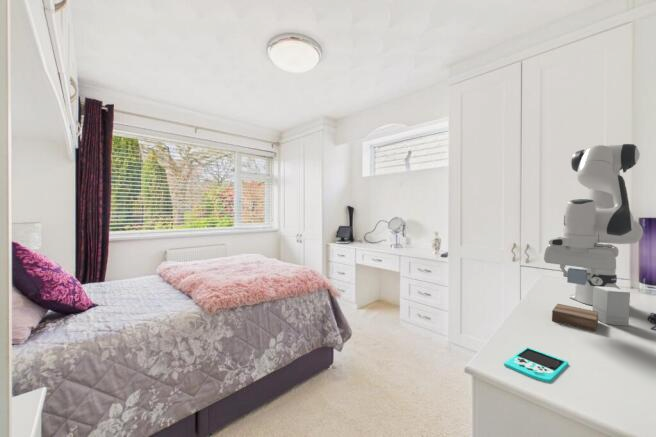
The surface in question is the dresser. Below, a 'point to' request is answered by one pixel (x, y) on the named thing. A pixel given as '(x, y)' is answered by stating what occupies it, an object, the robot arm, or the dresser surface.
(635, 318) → the dresser surface
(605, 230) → the robot arm
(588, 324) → the walnut base
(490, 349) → the dresser surface
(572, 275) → the slate block
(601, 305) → the supplement box
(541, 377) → the handheld game console
